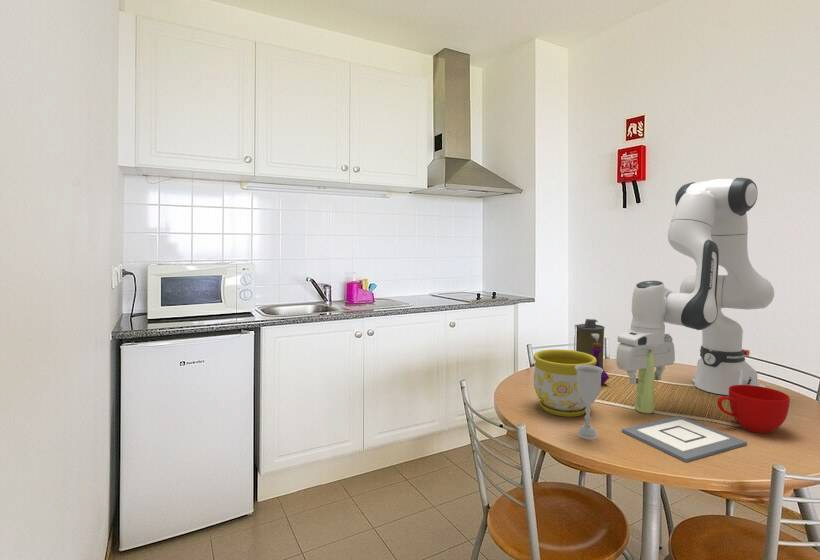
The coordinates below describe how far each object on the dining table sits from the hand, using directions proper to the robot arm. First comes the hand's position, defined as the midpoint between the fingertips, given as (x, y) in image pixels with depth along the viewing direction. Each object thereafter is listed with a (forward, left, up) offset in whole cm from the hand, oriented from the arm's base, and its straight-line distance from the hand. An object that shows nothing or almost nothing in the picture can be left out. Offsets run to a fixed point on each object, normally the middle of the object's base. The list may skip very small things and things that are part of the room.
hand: (645, 381), depth 132 cm
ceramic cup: (-15, +20, -9) cm, 27 cm away
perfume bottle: (-6, -26, -9) cm, 28 cm away
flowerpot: (+21, -11, -9) cm, 25 cm away
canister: (-17, -40, -9) cm, 45 cm away
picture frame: (+7, +17, -9) cm, 20 cm away
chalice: (+28, +6, -9) cm, 30 cm away
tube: (0, 0, -9) cm, 9 cm away
